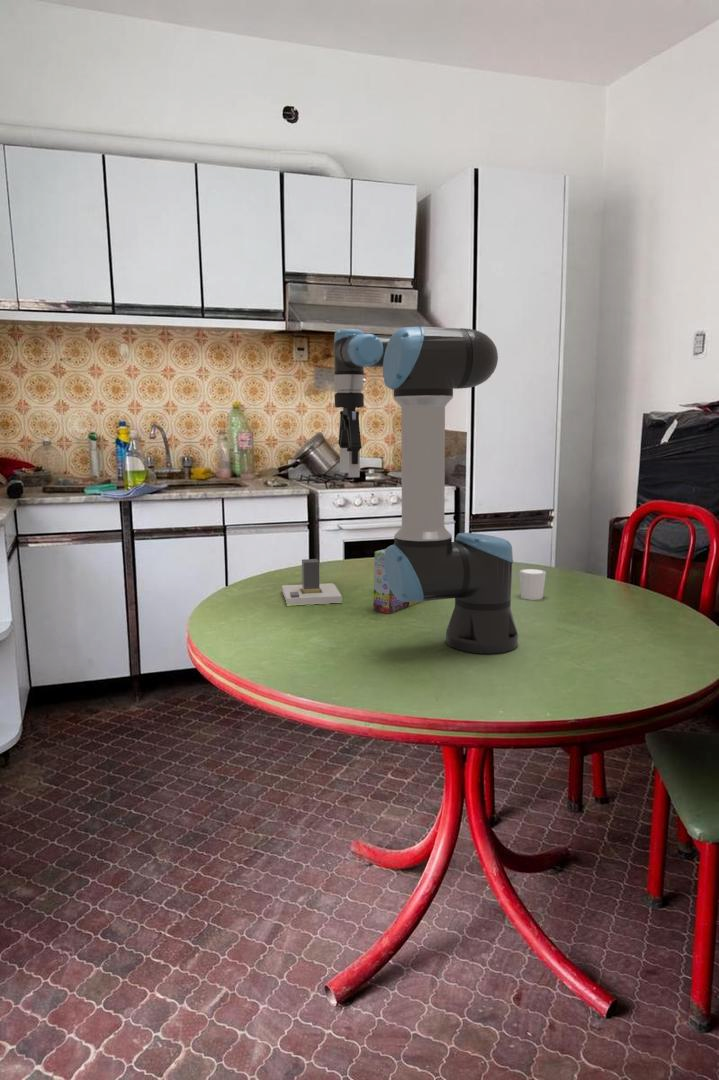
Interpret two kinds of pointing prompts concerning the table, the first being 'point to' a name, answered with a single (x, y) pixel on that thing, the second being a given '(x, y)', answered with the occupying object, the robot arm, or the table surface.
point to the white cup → (532, 583)
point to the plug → (310, 576)
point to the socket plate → (312, 595)
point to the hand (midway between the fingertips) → (349, 474)
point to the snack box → (385, 589)
